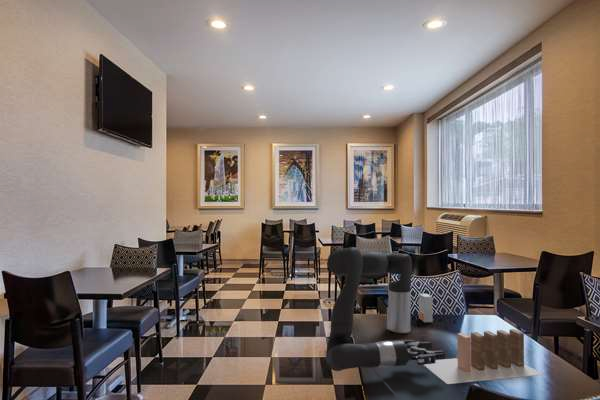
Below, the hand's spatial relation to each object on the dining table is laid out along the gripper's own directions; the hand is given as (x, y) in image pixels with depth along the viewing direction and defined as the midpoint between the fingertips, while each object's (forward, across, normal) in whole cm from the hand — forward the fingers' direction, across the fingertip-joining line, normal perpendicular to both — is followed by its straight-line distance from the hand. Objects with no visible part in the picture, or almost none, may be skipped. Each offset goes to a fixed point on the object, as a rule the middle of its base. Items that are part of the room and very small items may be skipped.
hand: (437, 349), depth 116 cm
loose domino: (+10, 0, +7) cm, 12 cm away
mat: (+15, 0, +8) cm, 17 cm away
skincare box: (+26, +50, +8) cm, 57 cm away
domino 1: (+15, 0, +7) cm, 16 cm away
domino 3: (+25, 0, +7) cm, 26 cm away
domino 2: (+20, 0, +7) cm, 21 cm away
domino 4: (+30, 0, +7) cm, 31 cm away
